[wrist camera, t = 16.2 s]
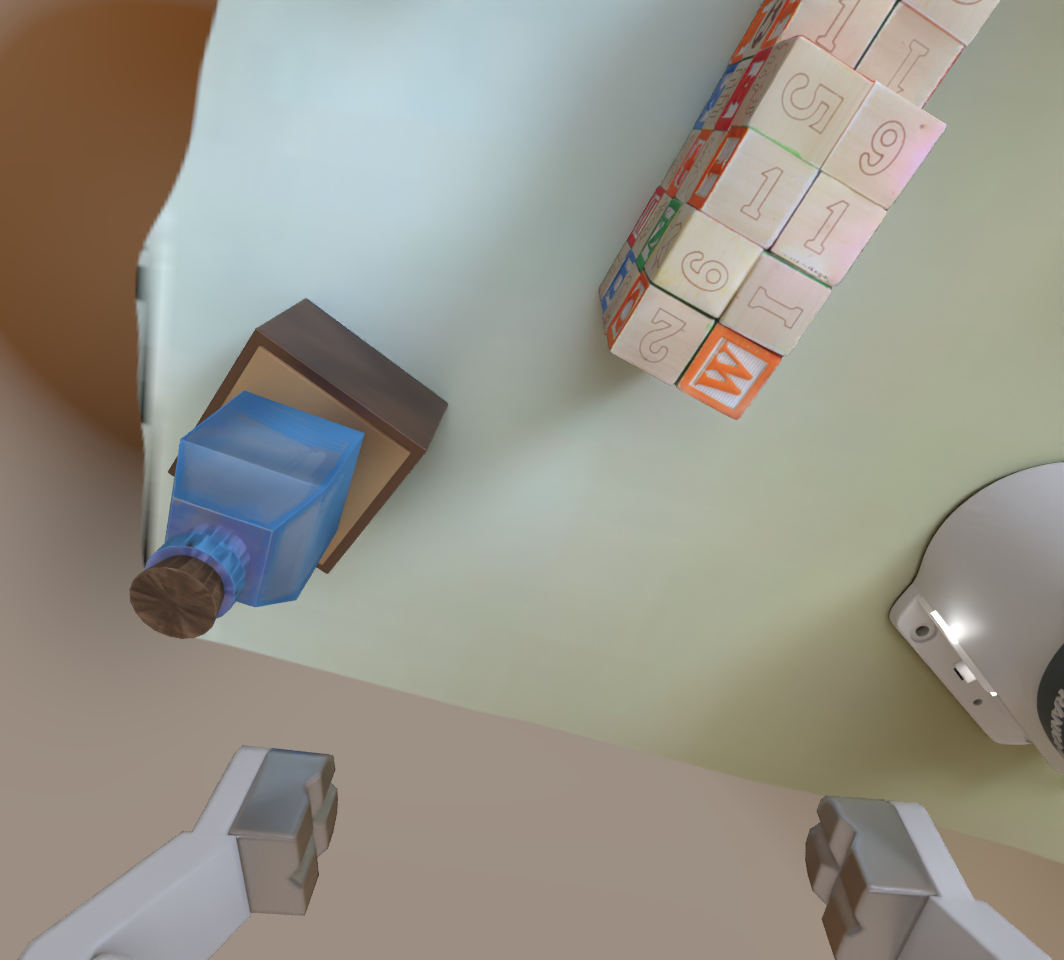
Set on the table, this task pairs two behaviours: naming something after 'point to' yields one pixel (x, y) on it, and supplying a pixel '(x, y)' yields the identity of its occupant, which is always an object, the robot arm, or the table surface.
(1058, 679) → the robot arm
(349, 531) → the walnut block
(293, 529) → the perfume bottle
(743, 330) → the stack of blocks
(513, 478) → the table surface
